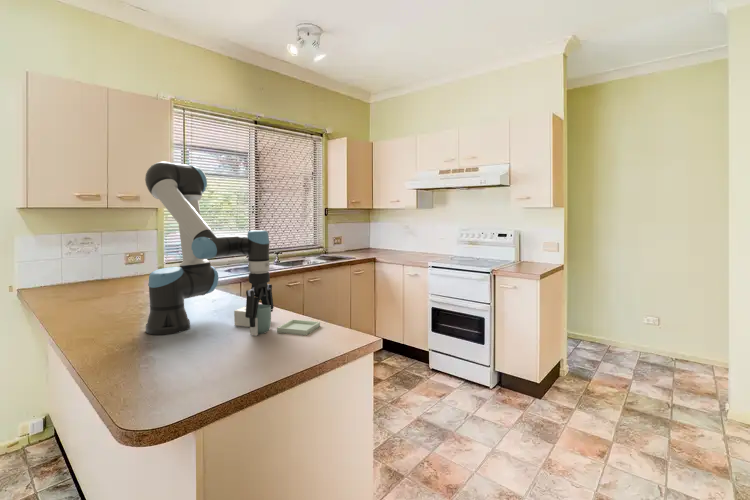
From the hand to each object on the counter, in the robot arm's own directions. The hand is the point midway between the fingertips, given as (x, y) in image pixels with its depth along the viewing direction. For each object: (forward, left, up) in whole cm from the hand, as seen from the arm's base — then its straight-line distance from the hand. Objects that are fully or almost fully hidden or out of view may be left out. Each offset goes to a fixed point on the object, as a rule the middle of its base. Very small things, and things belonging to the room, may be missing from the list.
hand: (260, 331), depth 148 cm
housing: (-10, +10, 0) cm, 14 cm away
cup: (0, 0, 0) cm, 0 cm away
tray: (+12, +8, 0) cm, 14 cm away
